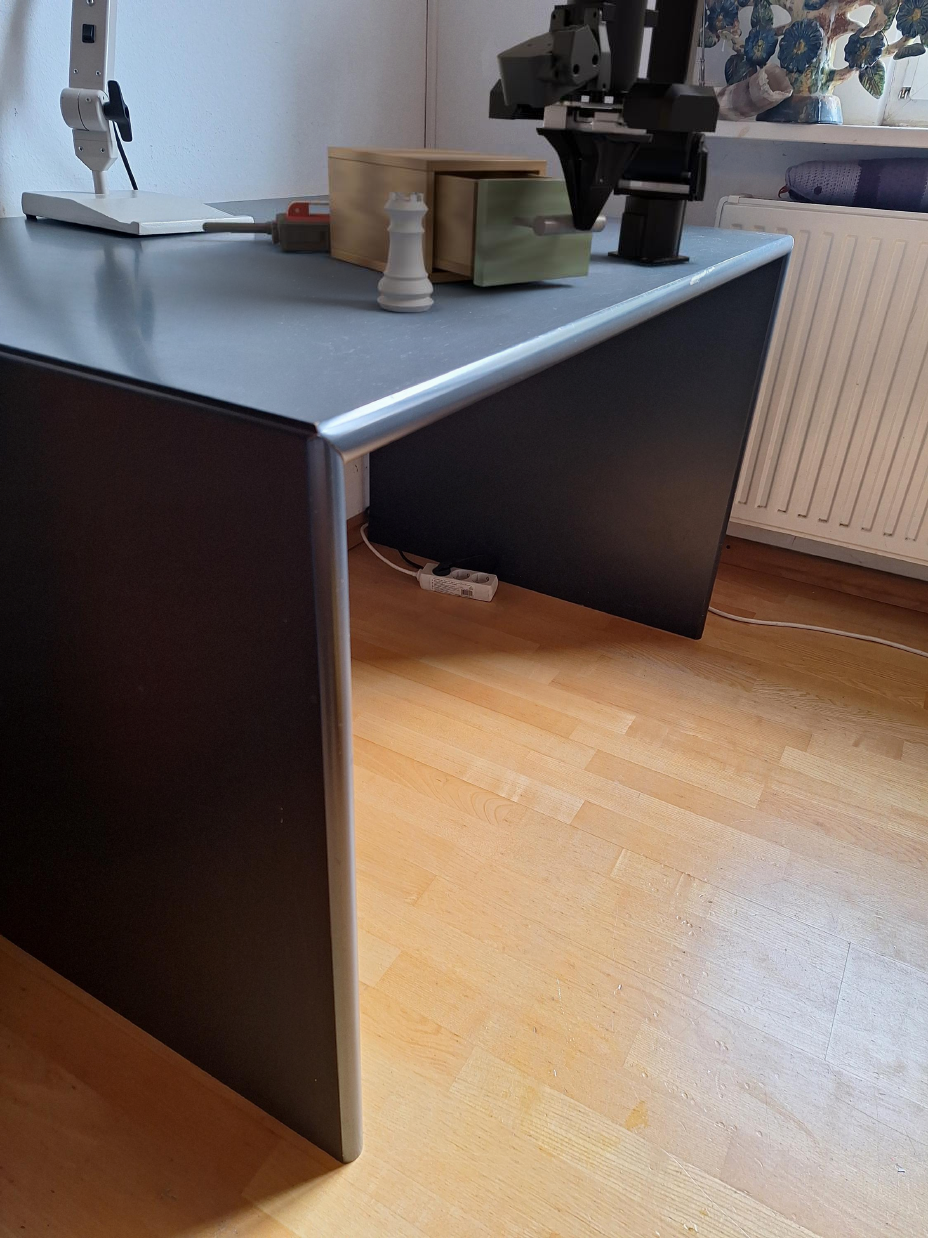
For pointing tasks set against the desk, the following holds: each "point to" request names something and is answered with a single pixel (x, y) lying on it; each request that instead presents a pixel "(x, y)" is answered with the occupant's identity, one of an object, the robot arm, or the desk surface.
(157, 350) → the desk surface
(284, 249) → the walkie-talkie
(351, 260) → the cabinet
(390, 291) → the rook chess piece
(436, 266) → the drawer
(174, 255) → the desk surface
